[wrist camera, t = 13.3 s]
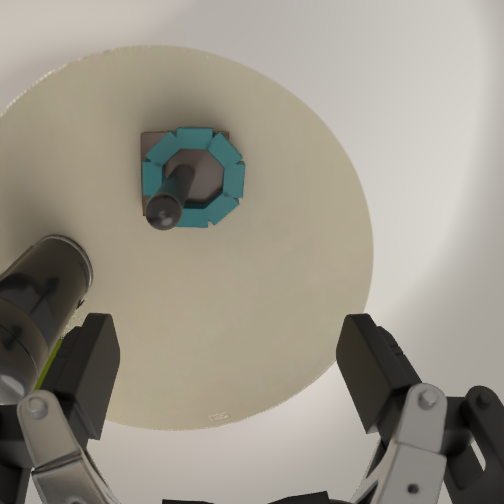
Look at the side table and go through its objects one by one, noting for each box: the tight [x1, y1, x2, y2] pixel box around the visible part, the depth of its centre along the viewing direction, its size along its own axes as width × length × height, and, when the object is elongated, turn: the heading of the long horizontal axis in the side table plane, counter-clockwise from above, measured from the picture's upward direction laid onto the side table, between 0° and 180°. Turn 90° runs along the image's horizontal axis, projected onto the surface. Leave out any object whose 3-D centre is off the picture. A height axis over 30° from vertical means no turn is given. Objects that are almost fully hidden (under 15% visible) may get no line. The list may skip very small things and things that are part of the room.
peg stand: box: [141, 131, 229, 230], centre depth 26 cm, size 9×9×15 cm
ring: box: [143, 127, 245, 228], centre depth 31 cm, size 10×10×2 cm
